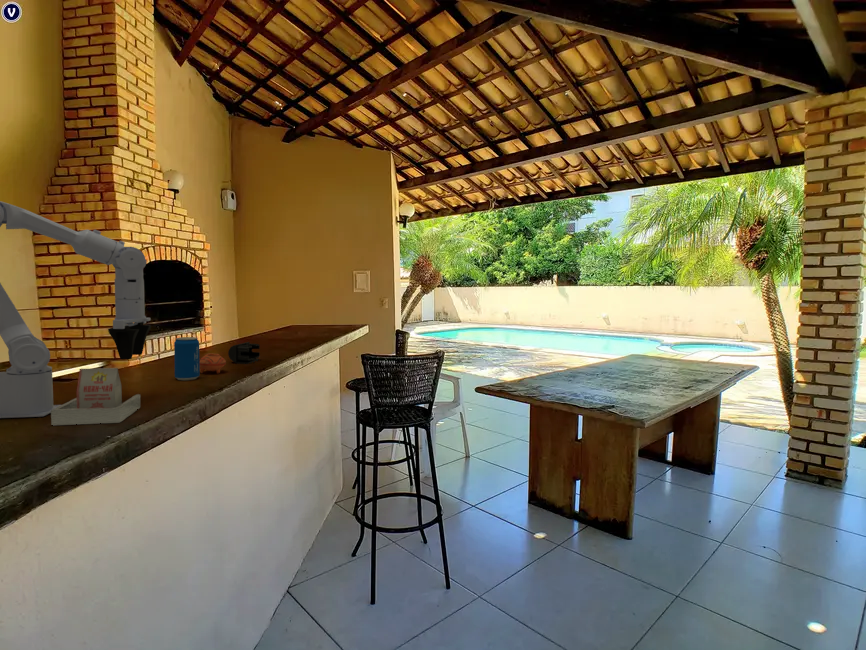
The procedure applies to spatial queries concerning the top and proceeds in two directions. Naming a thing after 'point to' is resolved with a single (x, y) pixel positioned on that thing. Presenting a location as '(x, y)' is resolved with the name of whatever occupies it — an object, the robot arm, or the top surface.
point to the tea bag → (99, 388)
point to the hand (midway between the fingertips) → (131, 356)
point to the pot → (212, 362)
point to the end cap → (244, 353)
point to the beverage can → (186, 358)
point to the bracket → (93, 413)
